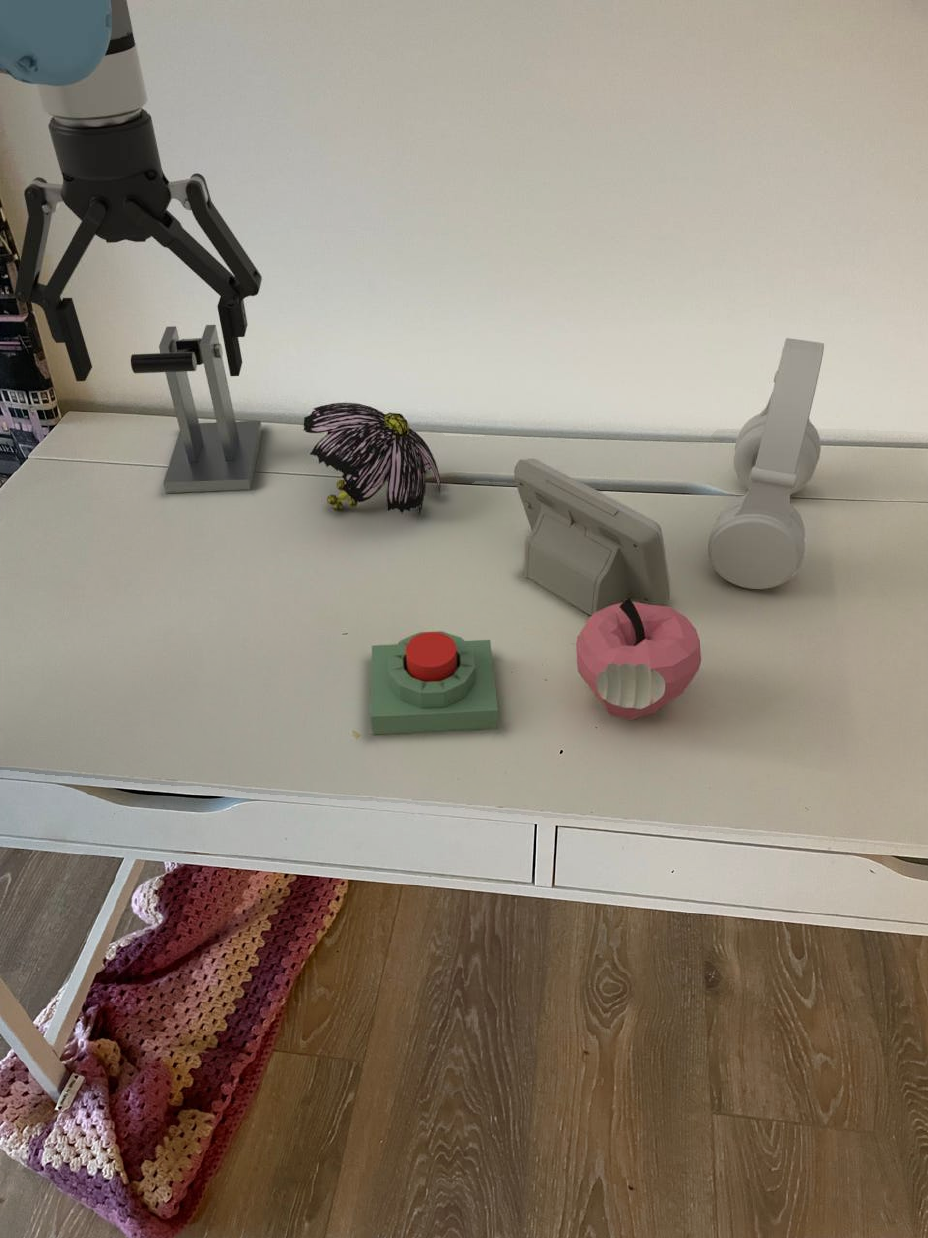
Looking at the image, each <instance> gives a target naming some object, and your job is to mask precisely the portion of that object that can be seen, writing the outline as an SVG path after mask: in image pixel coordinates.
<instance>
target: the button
mask: <svg viewBox="0 0 928 1238" xmlns="http://www.w3.org/2000/svg"><path fill="white" fill-rule="evenodd" d="M425 632H426V633H422V634H419V635H417V636H415V637H413V638H412V639H411V640H410V641H409V643H408V644H407V647H406V659H407V668H408V671H409V673H410V674H411V675H412V676H413V677H414V678H416V679H418V680H421V681H424V682H434V681H442V680H444V679H446V678H448V677H449V676H451V675H452V674H453V673H454V671H455V669H456V666H457V651H456V644H455V642H454V641H453V640H452V639H451V638H450V637H449V636H447V635H445V634H443V633H439V632H436V631H425Z"/></svg>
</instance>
